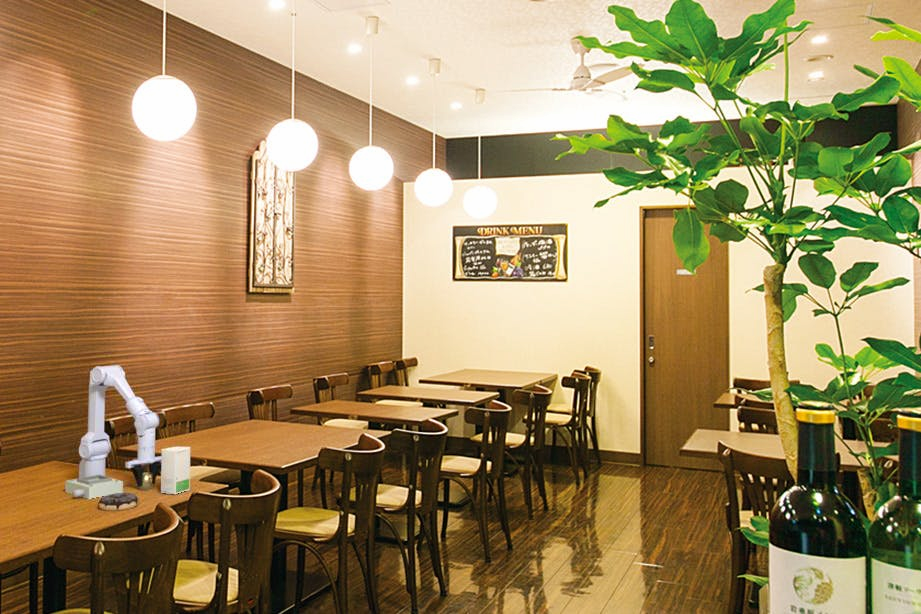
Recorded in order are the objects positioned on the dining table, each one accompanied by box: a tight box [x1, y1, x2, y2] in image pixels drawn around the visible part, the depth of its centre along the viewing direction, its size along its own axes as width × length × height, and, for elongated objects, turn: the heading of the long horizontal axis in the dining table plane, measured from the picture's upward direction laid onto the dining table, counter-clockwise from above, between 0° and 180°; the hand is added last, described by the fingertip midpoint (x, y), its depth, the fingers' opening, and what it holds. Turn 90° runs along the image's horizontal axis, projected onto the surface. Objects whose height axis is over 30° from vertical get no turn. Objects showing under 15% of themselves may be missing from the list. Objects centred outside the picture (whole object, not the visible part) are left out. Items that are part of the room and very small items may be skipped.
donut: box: [97, 492, 139, 512], centre depth 239 cm, size 11×12×4 cm
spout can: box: [138, 471, 153, 491], centre depth 263 cm, size 6×4×6 cm
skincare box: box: [160, 446, 192, 496], centre depth 260 cm, size 8×7×16 cm
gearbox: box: [64, 475, 124, 500], centre depth 256 cm, size 16×15×5 cm
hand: (145, 484), depth 263 cm, fingers closed on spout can, 4 cm apart
